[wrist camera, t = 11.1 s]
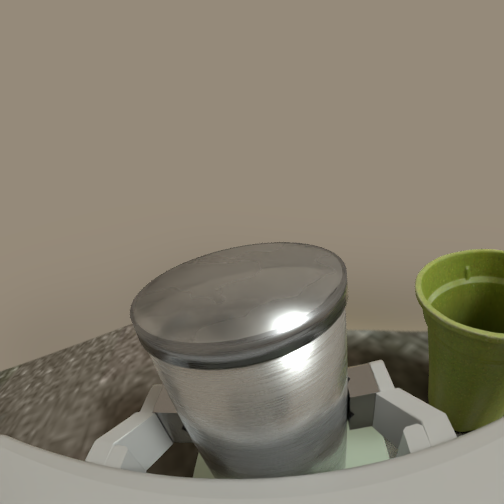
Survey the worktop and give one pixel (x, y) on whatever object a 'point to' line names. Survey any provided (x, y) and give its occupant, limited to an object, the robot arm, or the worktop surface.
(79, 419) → the worktop surface
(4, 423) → the worktop surface
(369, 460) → the pad
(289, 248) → the canister
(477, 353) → the plant pot
